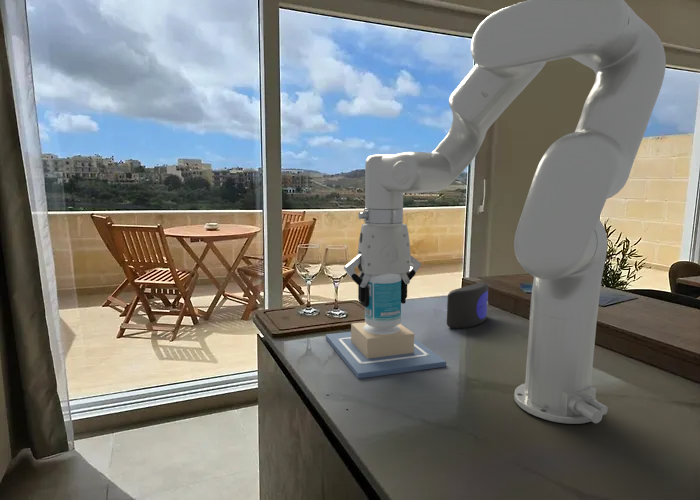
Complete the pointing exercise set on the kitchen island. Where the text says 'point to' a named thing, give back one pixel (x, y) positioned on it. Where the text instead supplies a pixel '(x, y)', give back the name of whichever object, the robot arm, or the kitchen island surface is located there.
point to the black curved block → (467, 306)
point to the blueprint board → (384, 365)
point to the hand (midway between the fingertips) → (382, 303)
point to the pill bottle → (384, 301)
